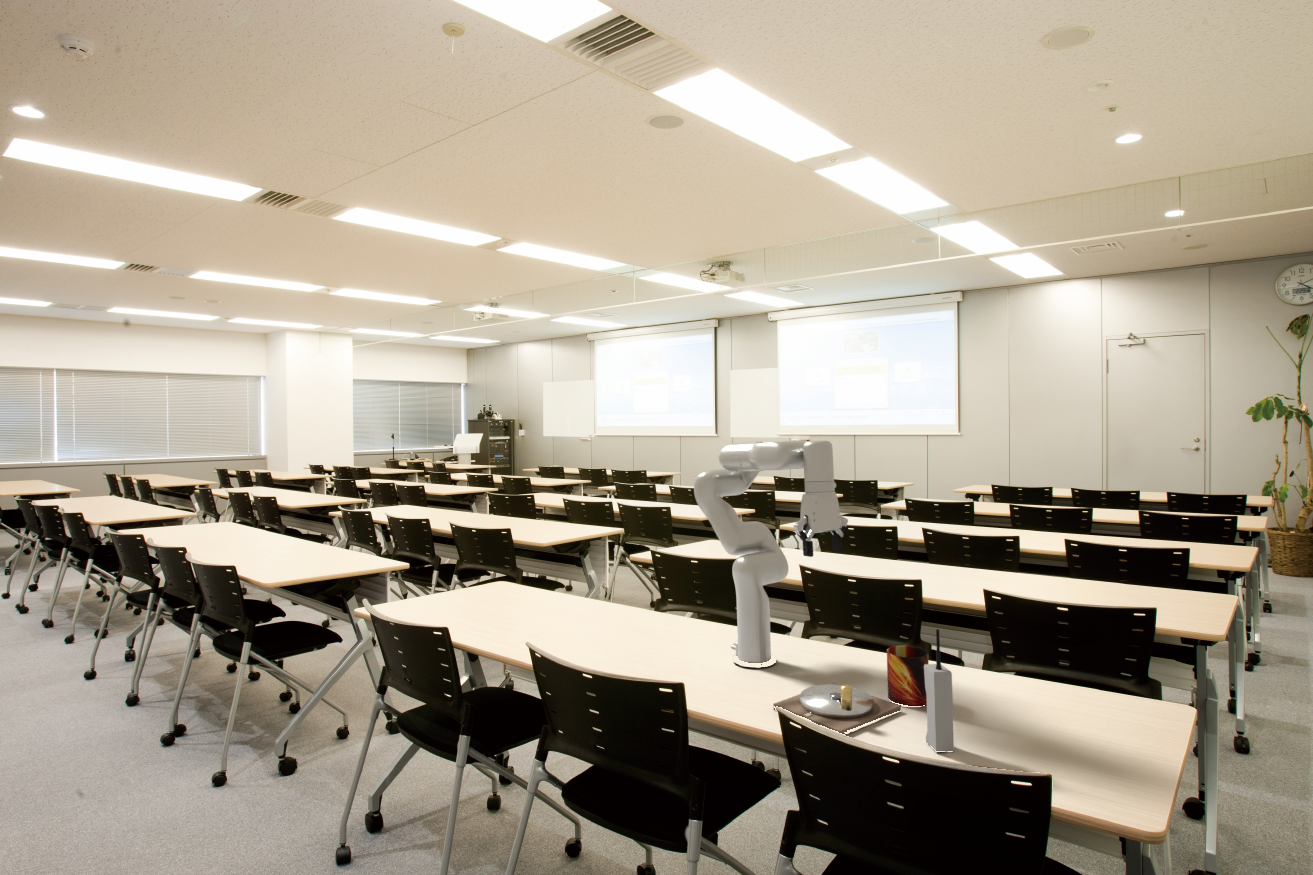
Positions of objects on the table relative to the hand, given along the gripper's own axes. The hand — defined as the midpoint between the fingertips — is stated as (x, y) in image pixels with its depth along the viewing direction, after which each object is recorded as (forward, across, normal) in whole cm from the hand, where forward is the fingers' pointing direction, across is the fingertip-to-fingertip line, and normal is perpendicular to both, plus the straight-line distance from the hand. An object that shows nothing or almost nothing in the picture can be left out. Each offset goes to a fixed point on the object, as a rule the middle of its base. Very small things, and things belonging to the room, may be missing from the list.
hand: (822, 554), depth 177 cm
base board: (+35, +8, +11) cm, 38 cm away
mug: (+36, -12, +17) cm, 42 cm away
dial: (+34, +8, +11) cm, 36 cm away
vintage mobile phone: (+36, +3, +36) cm, 51 cm away
